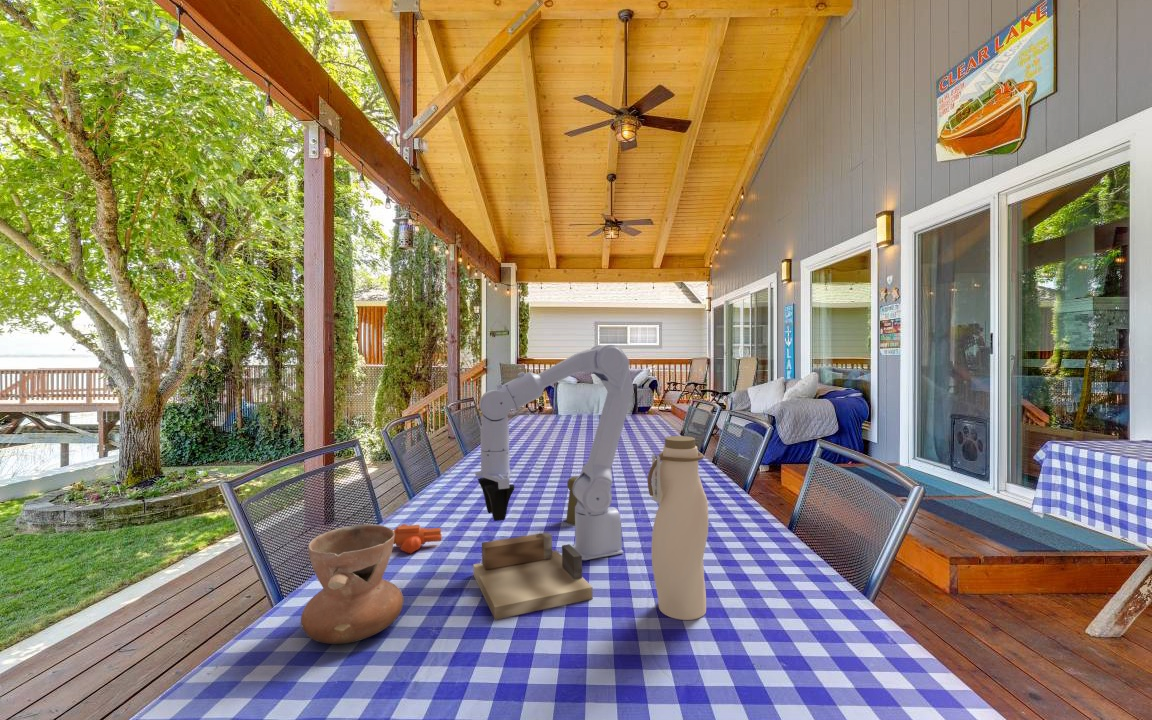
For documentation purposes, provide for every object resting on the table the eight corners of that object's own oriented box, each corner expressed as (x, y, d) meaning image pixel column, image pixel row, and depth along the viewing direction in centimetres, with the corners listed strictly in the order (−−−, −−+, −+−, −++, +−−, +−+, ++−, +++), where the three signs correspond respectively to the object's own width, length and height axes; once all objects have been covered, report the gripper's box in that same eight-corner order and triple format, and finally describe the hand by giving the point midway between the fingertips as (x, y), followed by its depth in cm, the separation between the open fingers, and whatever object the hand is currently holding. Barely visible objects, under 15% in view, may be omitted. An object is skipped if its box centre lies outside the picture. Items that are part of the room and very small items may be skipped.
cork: (587, 525, 124) (587, 480, 124) (563, 523, 125) (563, 479, 125) (591, 517, 130) (591, 474, 130) (569, 516, 131) (568, 474, 131)
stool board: (556, 560, 103) (556, 530, 103) (592, 598, 86) (592, 564, 86) (473, 574, 97) (472, 543, 97) (495, 619, 80) (494, 582, 80)
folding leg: (549, 551, 101) (548, 532, 101) (554, 557, 98) (554, 537, 98) (482, 563, 96) (481, 542, 96) (485, 569, 93) (485, 548, 93)
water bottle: (671, 630, 76) (669, 446, 76) (637, 605, 84) (635, 437, 84) (722, 613, 81) (720, 440, 81) (685, 591, 89) (683, 432, 89)
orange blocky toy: (441, 517, 114) (385, 521, 112) (438, 539, 107) (379, 543, 105) (442, 535, 115) (387, 539, 113) (439, 558, 108) (381, 563, 106)
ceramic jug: (390, 655, 71) (389, 555, 71) (280, 665, 69) (278, 562, 69) (413, 595, 89) (412, 515, 88) (326, 602, 86) (325, 519, 86)
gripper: (468, 445, 107) (469, 508, 107) (483, 457, 94) (484, 530, 94) (501, 442, 110) (502, 504, 110) (519, 454, 97) (520, 524, 97)
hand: (496, 516), depth 102 cm, fingers open, 5 cm apart
